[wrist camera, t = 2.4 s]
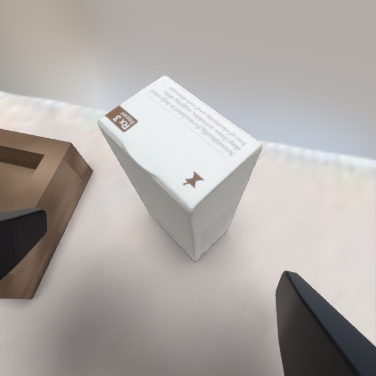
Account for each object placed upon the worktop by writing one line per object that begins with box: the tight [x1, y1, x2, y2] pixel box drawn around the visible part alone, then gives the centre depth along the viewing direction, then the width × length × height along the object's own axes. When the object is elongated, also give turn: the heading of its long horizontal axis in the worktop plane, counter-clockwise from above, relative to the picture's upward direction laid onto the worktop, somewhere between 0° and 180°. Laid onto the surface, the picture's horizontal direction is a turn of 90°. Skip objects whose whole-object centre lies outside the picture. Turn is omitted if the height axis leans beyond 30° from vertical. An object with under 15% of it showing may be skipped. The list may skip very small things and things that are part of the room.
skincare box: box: [97, 76, 262, 262], centre depth 15 cm, size 6×4×12 cm
